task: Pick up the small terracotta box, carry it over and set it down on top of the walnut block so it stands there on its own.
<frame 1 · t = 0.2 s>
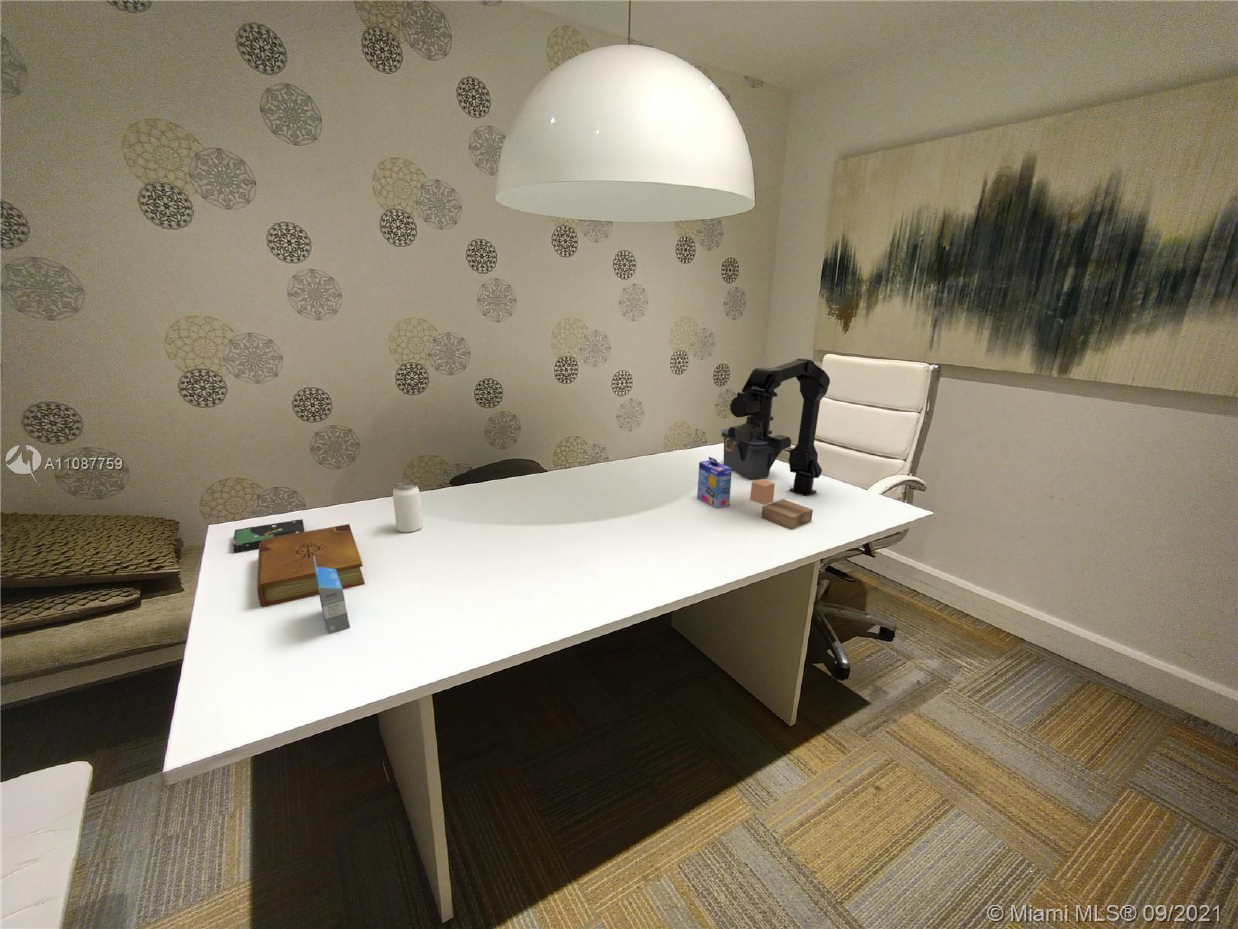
hand: (755, 464, 158), 14 cm above the table, fingers open, 9 cm apart
ink cartridge box: (712, 502, 167), on the table
disk drive: (271, 541, 134), on the table
label tape box: (335, 620, 102), on the table
storage bin: (743, 473, 196), on the table
diary: (312, 574, 119), on the table
walnut block: (785, 520, 155), on the table
can: (409, 528, 142), on the table
terracotta box: (761, 500, 169), on the table
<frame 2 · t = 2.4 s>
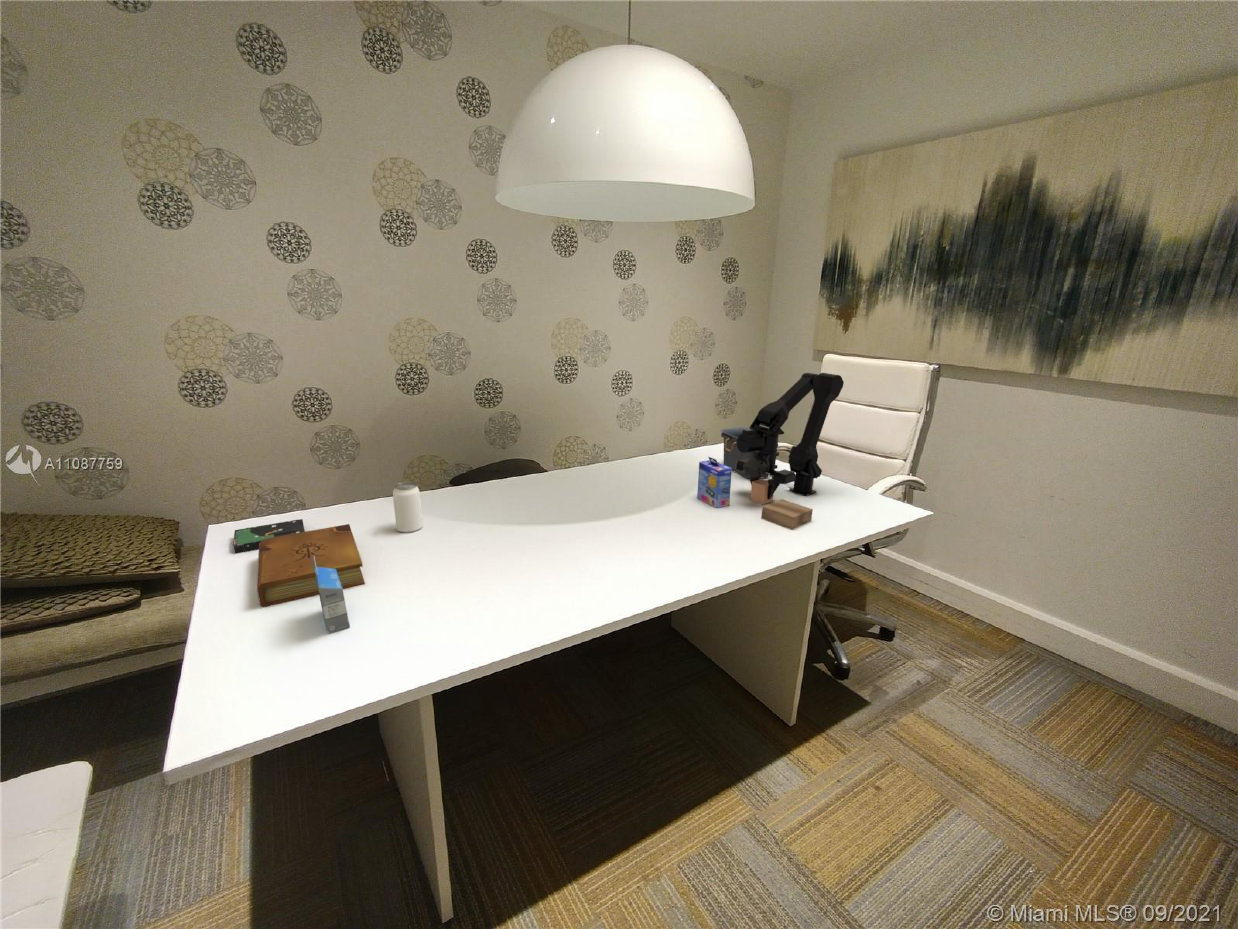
hand: (761, 496, 169), 1 cm above the table, fingers closed on terracotta box, 5 cm apart
terracotta box: (761, 500, 169), on the table, touching gripper
everything else where it was.
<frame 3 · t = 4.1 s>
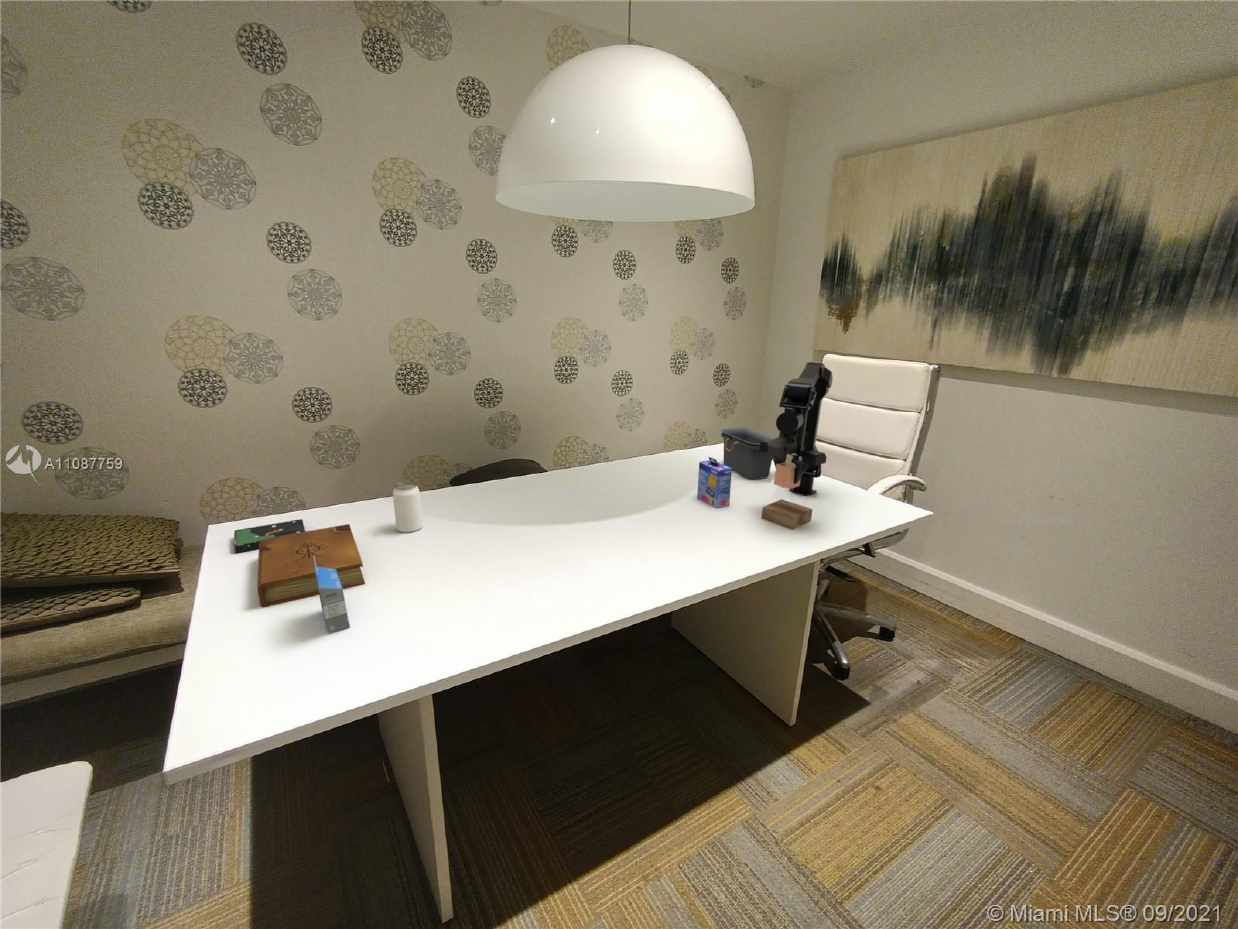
hand: (787, 480, 152), 11 cm above the table, fingers closed on terracotta box, 5 cm apart
terracotta box: (786, 485, 153), point 10 cm above the table, touching gripper
everything else where it was.
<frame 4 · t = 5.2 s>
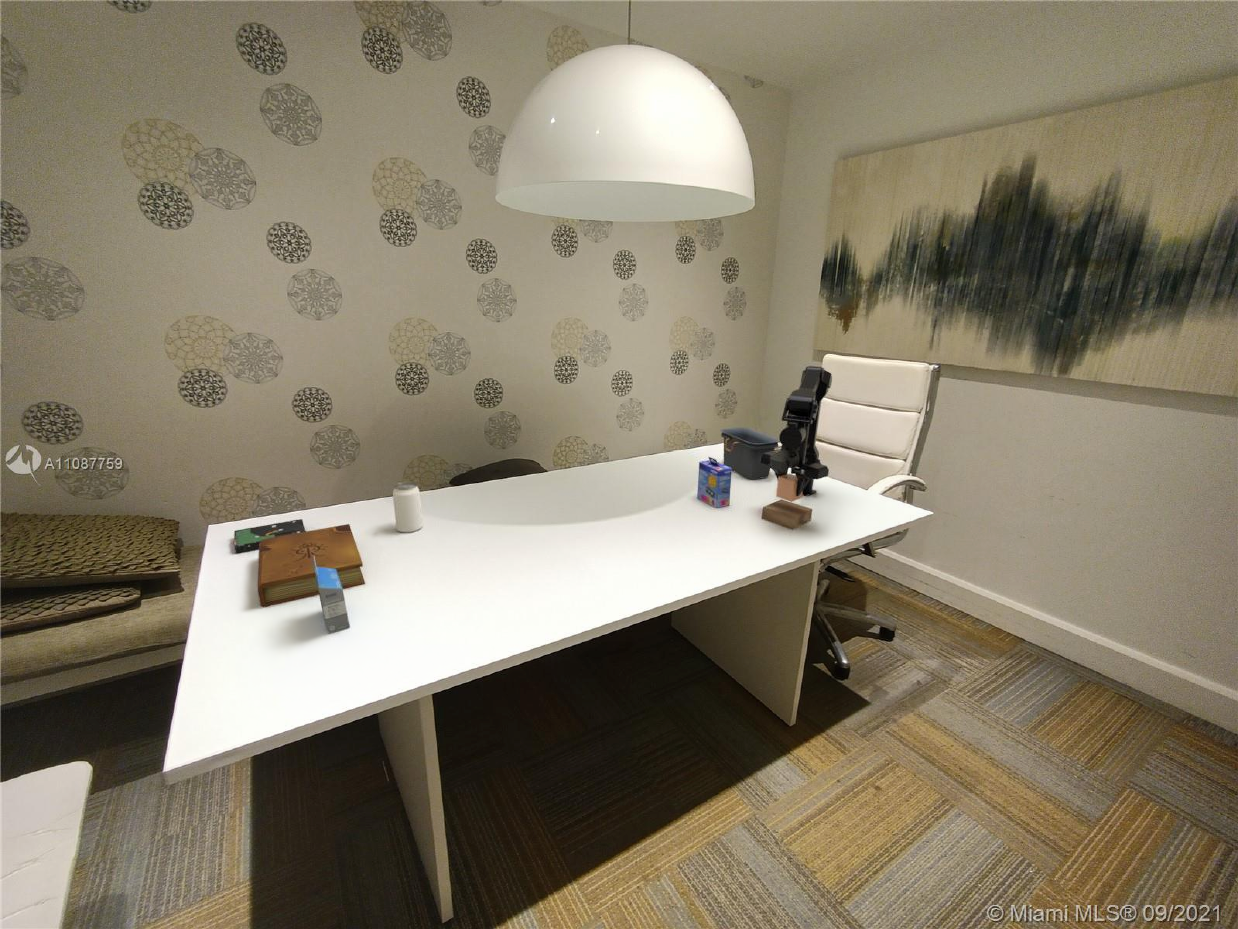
hand: (789, 493, 152), 8 cm above the table, fingers closed on terracotta box, 5 cm apart
terracotta box: (788, 497, 152), point 7 cm above the table, touching gripper
everything else where it was.
when the fingers open (6 cm above the table, at t = 6.0 s): terracotta box drops 1 cm, resting on walnut block.
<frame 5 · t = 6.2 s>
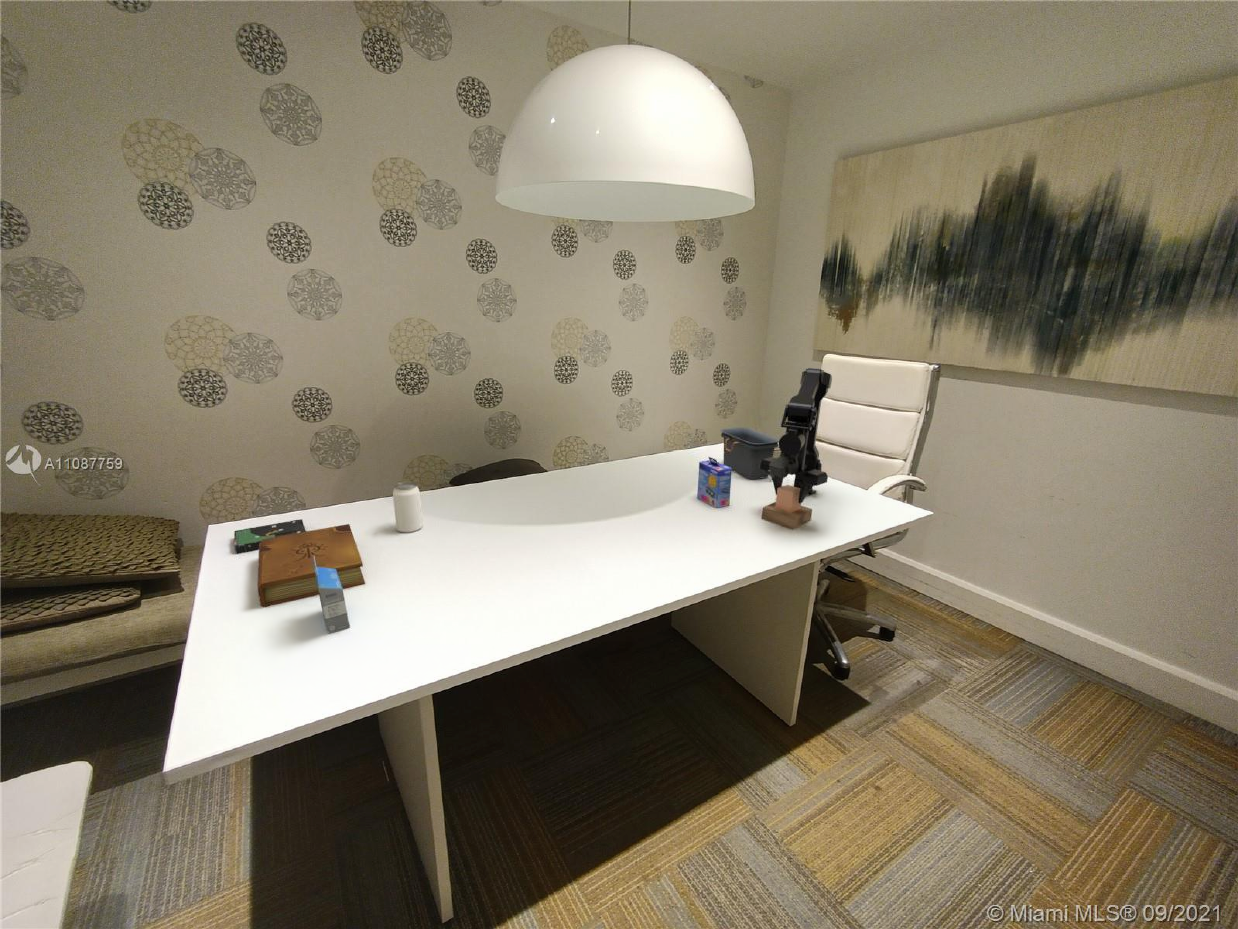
hand: (788, 499, 153), 6 cm above the table, fingers open, 7 cm apart
walnut block: (785, 521, 155), on the table, touching terracotta box
terracotta box: (787, 508, 153), point 4 cm above the table, touching walnut block
everything else where it was.
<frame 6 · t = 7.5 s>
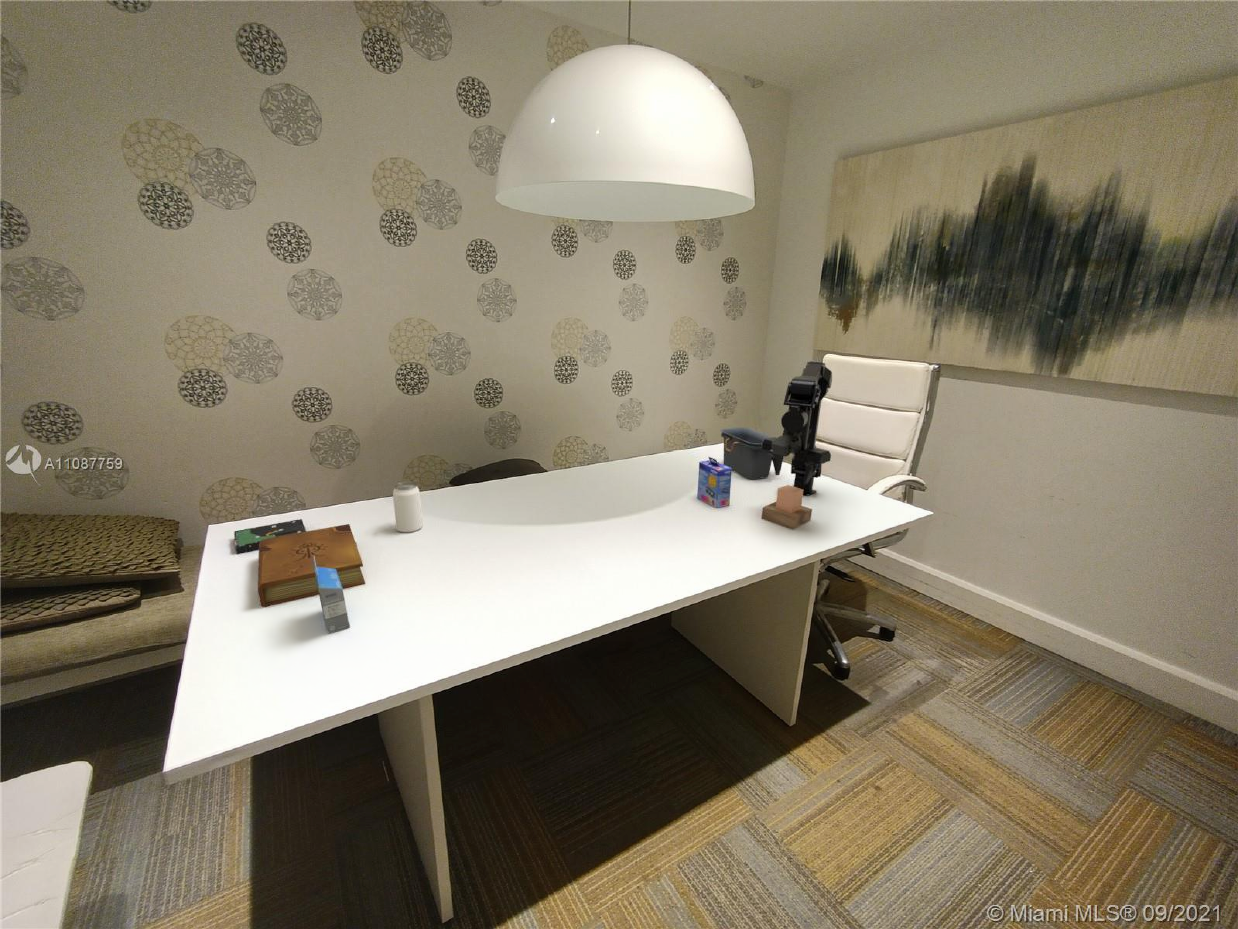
hand: (791, 479, 151), 12 cm above the table, fingers open, 9 cm apart
walnut block: (785, 521, 155), on the table
terracotta box: (788, 508, 153), point 4 cm above the table
everything else where it was.
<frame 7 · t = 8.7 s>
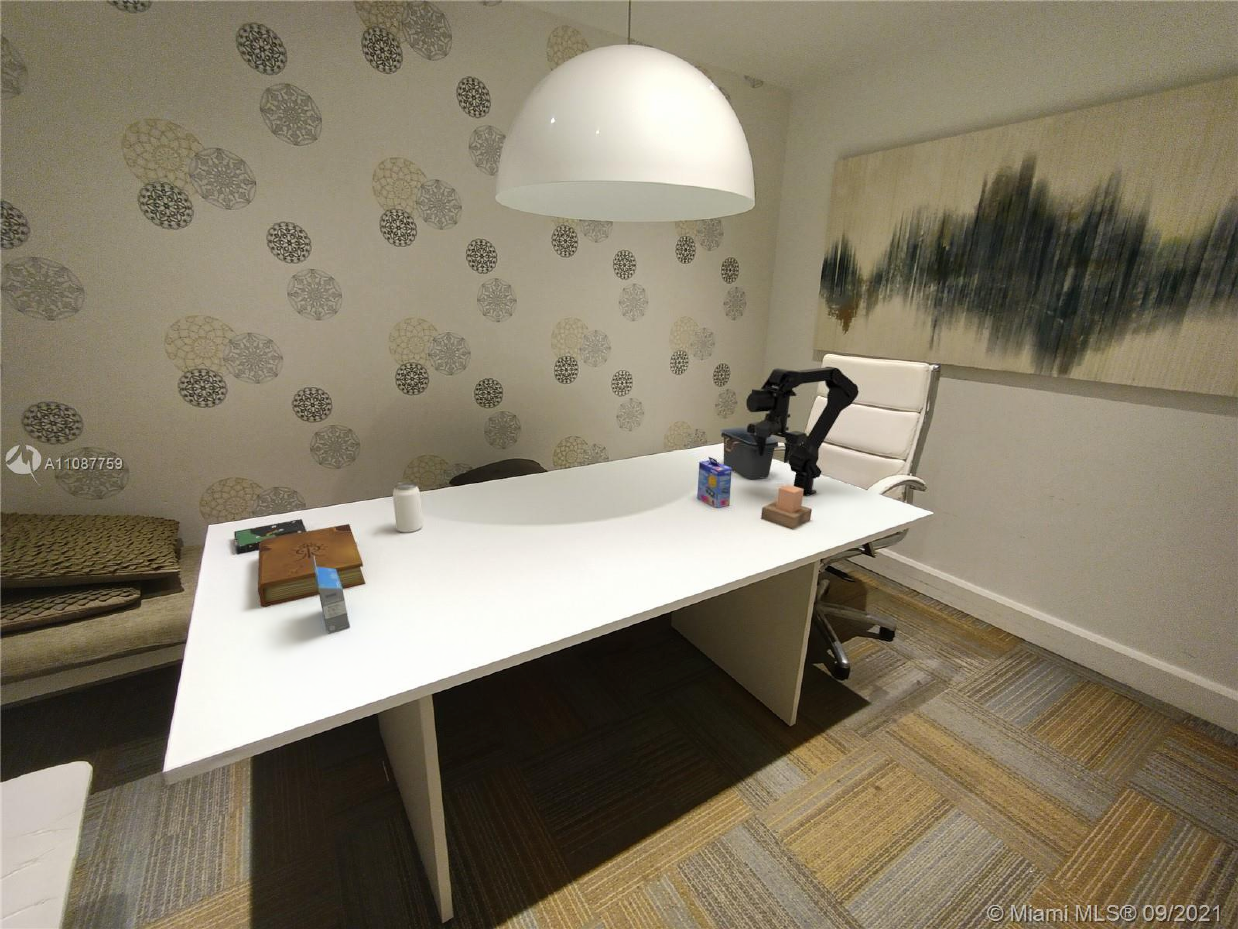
hand: (772, 459, 169), 12 cm above the table, fingers open, 9 cm apart
nothing on the table moved.
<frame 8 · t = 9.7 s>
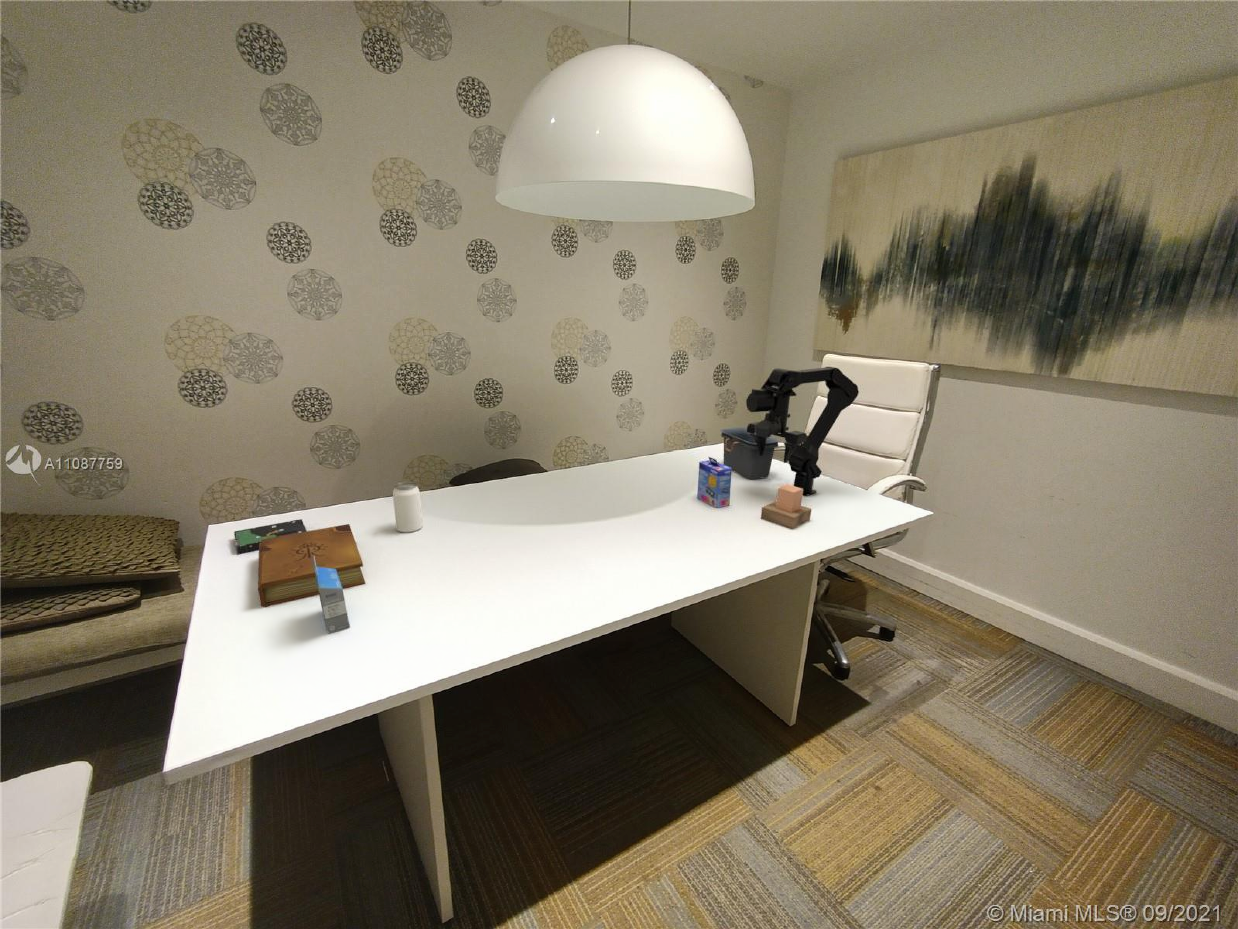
hand: (772, 459, 169), 13 cm above the table, fingers open, 9 cm apart
walnut block: (785, 520, 155), on the table, touching terracotta box
terracotta box: (788, 508, 154), point 4 cm above the table, touching walnut block
everything else where it was.
at the end: terracotta box inside the target area on the walnut block (0.4 cm from its centre), point 4.0 cm above the walnut block's base; terracotta box tilted 0°; the gripper is holding nothing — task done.
